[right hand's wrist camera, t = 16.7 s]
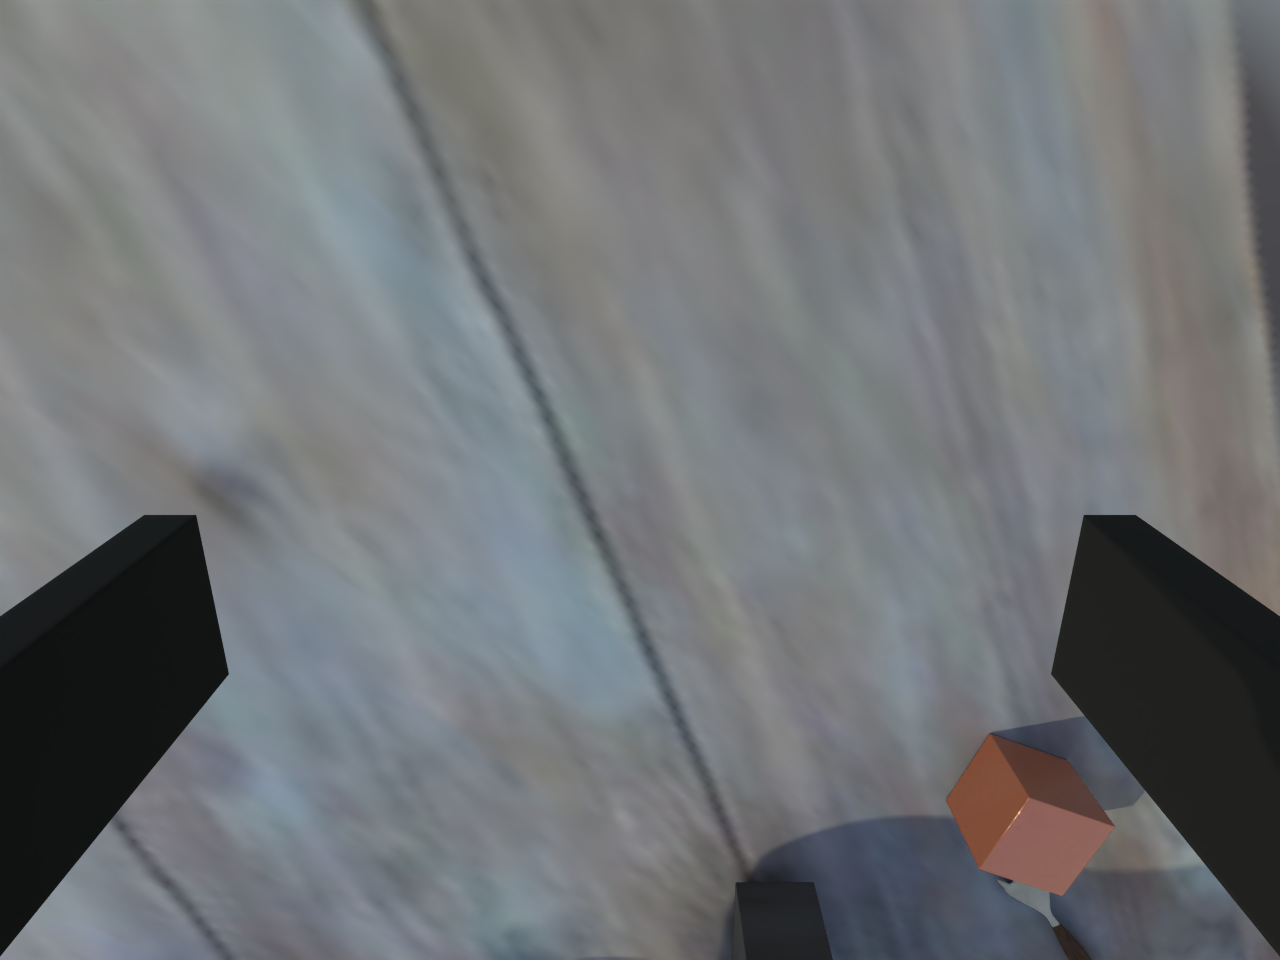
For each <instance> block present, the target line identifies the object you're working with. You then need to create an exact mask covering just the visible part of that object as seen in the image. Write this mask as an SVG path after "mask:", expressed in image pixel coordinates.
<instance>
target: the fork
mask: <svg viewBox="0 0 1280 960" xmlns="http://www.w3.org/2000/svg"><path fill="white" fill-rule="evenodd" d="M997 882H998V883H1000V884H1001V885H1002V887H1003V888H1004V890H1005V891H1006V892H1007V893H1008V894H1009V895H1010V896H1012V897H1013V898H1015V899H1016V900H1018V901H1020V902H1022V903H1024V904H1026V905H1028V906H1030V907H1032V908H1034V909H1036V910H1037V911H1039V912H1041V913H1042V914H1043V915H1044V916H1045V917H1046V918H1047V919H1048V921H1049V922H1050V924H1051V926H1052V928H1053V930H1054V932H1055V934H1056V936H1057V938H1058V940H1059V942H1060V944H1061V946H1062V948H1063V950H1064V952H1065V954H1066V955H1067V957H1068V959H1069V960H1091V958H1090V957H1089V955H1088V954H1087V952H1086V951H1085V950H1084V949H1083V947H1082V946H1081V945H1080V944H1079V943H1078V942H1077V941H1076V940H1075V939H1074V938H1073V937H1072V935H1071V934H1070V933H1069V932H1068V931H1067V930H1066V929H1065V928H1064V927H1063V926H1062V925H1061V924H1060V923H1059V922H1058V921H1057V920H1056V918H1055V917H1054V916H1053V915H1052V913H1051V910H1050V892H1048V891H1044V890H1041V889H1038V888H1035V887H1032V886H1029V885H1026V884H1023V883H1020V882H1017V881H1013V882H1012V883H1006V882H1004V881H1002V880H999V879H997Z"/></svg>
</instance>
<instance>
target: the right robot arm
mask: <svg viewBox="0 0 1280 960" xmlns="http://www.w3.org/2000/svg"><path fill="white" fill-rule="evenodd" d="M228 675H229V672H228V668H227V663H226V658H225V653H224V648H223V643H222V638H221V634H220V629H219V624H218V619H217V614H216V609H215V604H214V600H213V595H212V590H211V585H210V580H209V575H208V571H207V566H206V561H205V556H204V551H203V546H202V541H201V537H200V532H199V527H198V522H197V517H196V515H144V516H142V517H141V518H139V519H138V520H137V521H135V522H134V523H132V524H131V525H130V526H128V527H127V528H125V529H124V530H122V531H121V532H120V533H118V534H117V535H115V536H114V537H112V538H111V539H110V540H108V541H107V542H105V543H104V544H102V545H101V546H100V547H98V548H97V549H95V550H94V551H93V552H91V553H90V554H88V555H87V556H85V557H84V558H83V559H81V560H80V561H78V562H77V563H75V564H74V565H73V566H71V567H70V568H68V569H67V570H66V571H64V572H63V573H61V574H60V575H58V576H57V577H56V578H54V579H53V580H51V581H50V582H48V583H47V584H46V585H44V586H43V587H41V588H40V589H38V590H37V591H36V592H34V593H33V594H31V595H30V596H29V597H27V598H26V599H24V600H23V601H21V602H20V603H19V604H17V605H16V606H14V607H13V608H11V609H10V610H9V611H7V612H6V613H4V614H3V615H2V616H0V956H1V955H2V953H3V952H4V951H5V950H6V949H7V947H8V946H9V945H10V944H11V942H12V941H13V940H14V939H15V937H16V936H17V935H18V934H19V933H20V931H21V930H22V929H23V928H24V926H25V925H26V924H27V923H28V921H29V920H30V919H31V918H32V916H33V915H34V914H35V913H36V912H37V910H38V909H39V908H40V907H41V905H42V904H43V903H44V902H45V900H46V899H47V898H48V897H49V895H50V894H51V893H52V892H53V891H54V889H55V888H56V887H57V886H58V884H59V883H60V882H61V881H62V879H63V878H64V877H65V876H66V874H67V873H68V872H69V871H70V870H71V868H72V867H73V866H74V865H75V863H76V862H77V861H78V860H79V858H80V857H81V856H82V855H83V854H84V852H85V851H86V850H87V849H88V847H89V846H90V845H91V844H92V842H93V841H94V840H95V839H96V837H97V836H98V835H99V834H100V833H101V831H102V830H103V829H104V828H105V826H106V825H107V824H108V823H109V821H110V820H111V819H112V818H113V816H114V815H115V814H116V813H117V812H118V810H119V809H120V808H121V807H122V805H123V804H124V803H125V802H126V800H127V799H128V798H129V797H130V795H131V794H132V793H133V792H134V791H135V789H136V788H137V787H138V786H139V784H140V783H141V782H142V781H143V779H144V778H145V777H146V776H147V774H148V773H149V772H150V771H151V770H152V768H153V767H154V766H155V765H156V763H157V762H158V761H159V760H160V758H161V757H162V756H163V755H164V754H165V752H166V751H167V750H168V749H169V747H170V746H171V745H172V744H173V742H174V741H175V740H176V739H177V737H178V736H179V735H180V734H181V733H182V731H183V730H184V729H185V728H186V726H187V725H188V724H189V723H190V721H191V720H192V719H193V718H194V716H195V715H196V714H197V713H198V712H199V710H200V709H201V708H202V707H203V705H204V704H205V703H206V702H207V700H208V699H209V698H210V697H211V695H212V694H213V693H214V692H215V691H216V689H217V688H218V687H219V686H220V684H221V683H222V682H223V681H224V679H225V678H226V677H227V676H228ZM1051 675H1052V676H1053V677H1054V678H1055V679H1056V681H1057V682H1058V683H1059V684H1060V686H1061V687H1062V688H1063V689H1064V691H1065V692H1066V693H1067V694H1068V695H1069V697H1070V698H1071V699H1072V700H1073V702H1074V703H1075V704H1076V705H1077V707H1078V708H1079V709H1080V710H1081V712H1082V713H1083V714H1084V715H1085V716H1086V718H1087V719H1088V720H1089V721H1090V723H1091V724H1092V725H1093V726H1094V728H1095V729H1096V730H1097V731H1098V733H1099V734H1100V735H1101V736H1102V737H1103V739H1104V740H1105V741H1106V742H1107V744H1108V745H1109V746H1110V747H1111V749H1112V750H1113V751H1114V752H1115V754H1116V755H1117V756H1118V757H1119V758H1120V760H1121V761H1122V762H1123V763H1124V765H1125V766H1126V767H1127V768H1128V770H1129V771H1130V772H1131V773H1132V774H1133V776H1134V777H1135V778H1136V779H1137V781H1138V782H1139V783H1140V784H1141V786H1142V787H1143V788H1144V789H1145V791H1146V792H1147V793H1148V794H1149V795H1150V797H1151V798H1152V799H1153V800H1154V802H1155V803H1156V804H1157V805H1158V807H1159V808H1160V809H1161V810H1162V812H1163V813H1164V814H1165V815H1166V816H1167V818H1168V819H1169V820H1170V821H1171V823H1172V824H1173V825H1174V826H1175V828H1176V829H1177V830H1178V831H1179V833H1180V834H1181V835H1182V836H1183V837H1184V839H1185V840H1186V841H1187V842H1188V844H1189V845H1190V846H1191V847H1192V849H1193V850H1194V851H1195V852H1196V854H1197V855H1198V856H1199V857H1200V858H1201V860H1202V861H1203V862H1204V863H1205V865H1206V866H1207V867H1208V868H1209V870H1210V871H1211V872H1212V873H1213V874H1214V876H1215V877H1216V878H1217V879H1218V881H1219V882H1220V883H1221V884H1222V886H1223V887H1224V888H1225V889H1226V891H1227V892H1228V893H1229V894H1230V895H1231V897H1232V898H1233V899H1234V900H1235V902H1236V903H1237V904H1238V905H1239V907H1240V908H1241V909H1242V910H1243V912H1244V913H1245V914H1246V915H1247V916H1248V918H1249V919H1250V920H1251V921H1252V923H1253V924H1254V925H1255V926H1256V928H1257V929H1258V930H1259V931H1260V933H1261V934H1262V935H1263V936H1264V937H1265V939H1266V940H1267V941H1268V942H1269V944H1270V945H1271V946H1272V947H1273V949H1274V950H1275V951H1276V952H1277V953H1278V955H1279V956H1280V616H1278V615H1277V614H1276V613H1274V612H1273V611H1271V610H1270V609H1269V608H1267V607H1266V606H1264V605H1263V604H1261V603H1260V602H1259V601H1257V600H1256V599H1254V598H1253V597H1251V596H1250V595H1249V594H1247V593H1246V592H1244V591H1243V590H1242V589H1240V588H1239V587H1237V586H1236V585H1234V584H1233V583H1232V582H1230V581H1229V580H1227V579H1226V578H1224V577H1223V576H1222V575H1220V574H1219V573H1217V572H1216V571H1214V570H1213V569H1212V568H1210V567H1209V566H1207V565H1206V564H1205V563H1203V562H1202V561H1200V560H1199V559H1197V558H1196V557H1195V556H1193V555H1192V554H1190V553H1189V552H1187V551H1186V550H1185V549H1183V548H1182V547H1180V546H1179V545H1178V544H1176V543H1175V542H1173V541H1172V540H1170V539H1169V538H1168V537H1166V536H1165V535H1163V534H1162V533H1160V532H1159V531H1158V530H1156V529H1155V528H1153V527H1152V526H1150V525H1149V524H1148V523H1146V522H1145V521H1143V520H1142V519H1141V518H1139V517H1138V516H1136V515H1084V517H1083V522H1082V527H1081V532H1080V537H1079V541H1078V546H1077V551H1076V556H1075V561H1074V566H1073V571H1072V575H1071V580H1070V585H1069V590H1068V595H1067V600H1066V604H1065V609H1064V614H1063V619H1062V624H1061V629H1060V634H1059V638H1058V643H1057V648H1056V653H1055V658H1054V663H1053V668H1052V672H1051Z"/></svg>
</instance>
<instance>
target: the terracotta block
mask: <svg viewBox="0 0 1280 960" xmlns="http://www.w3.org/2000/svg"><path fill="white" fill-rule="evenodd" d="M946 802H947V804H948V806H949V808H950V810H951V812H952V814H953V816H954V818H955V820H956V823H957V825H958V827H959V829H960V831H961V833H962V835H963V837H964V839H965V841H966V843H967V845H968V847H969V849H970V852H971V854H972V856H973V858H974V860H975V862H976V864H977V866H978V868H979V869H980V870H983V871H986V872H989V873H992V874H995V875H998V876H1001V877H1004V878H1007V879H1010V880H1013V881H1017V882H1020V883H1023V884H1026V885H1029V886H1032V887H1035V888H1038V889H1041V890H1044V891H1048V892H1051V893H1054V894H1057V895H1060V896H1063V895H1064V894H1065V892H1066V891H1067V890H1068V888H1069V887H1070V886H1071V884H1072V883H1073V882H1074V880H1075V879H1076V878H1077V876H1078V875H1079V874H1080V873H1081V871H1082V870H1083V869H1084V867H1085V866H1086V865H1087V863H1088V862H1089V861H1090V859H1091V858H1092V857H1093V855H1094V854H1095V853H1096V852H1097V850H1098V849H1099V848H1100V846H1101V845H1102V844H1103V842H1104V841H1105V840H1106V838H1107V837H1108V836H1109V834H1110V833H1111V832H1112V830H1113V829H1114V828H1115V826H1114V824H1113V823H1112V821H1111V820H1110V819H1109V817H1108V816H1107V814H1106V813H1105V812H1104V810H1103V809H1102V808H1101V806H1100V805H1099V803H1098V802H1097V801H1096V799H1095V798H1094V796H1093V795H1092V794H1091V792H1090V791H1089V789H1088V788H1087V787H1086V785H1085V784H1084V783H1083V781H1082V780H1081V778H1080V777H1079V776H1078V774H1077V773H1076V771H1075V770H1074V769H1073V767H1072V766H1071V764H1070V763H1069V762H1068V761H1067V760H1065V759H1062V758H1059V757H1056V756H1053V755H1050V754H1048V753H1045V752H1042V751H1039V750H1036V749H1033V748H1030V747H1027V746H1025V745H1022V744H1019V743H1016V742H1013V741H1010V740H1007V739H1004V738H1002V737H999V736H996V735H993V734H989V736H988V737H987V739H986V740H985V742H984V743H983V745H982V746H981V748H980V749H979V751H978V752H977V754H976V755H975V757H974V758H973V760H972V761H971V763H970V764H969V766H968V767H967V769H966V770H965V772H964V774H963V775H962V777H961V778H960V780H959V781H958V783H957V784H956V786H955V787H954V789H953V790H952V792H951V793H950V795H949V796H948V798H947V799H946Z"/></svg>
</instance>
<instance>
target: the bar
mask: <svg viewBox="0 0 1280 960" xmlns="http://www.w3.org/2000/svg"><path fill="white" fill-rule="evenodd" d="M732 960H833V959H832V955H831V951H830V947H829V943H828V939H827V934H826V930H825V926H824V922H823V918H822V914H821V910H820V906H819V902H818V898H817V894H816V889H815V885H814V883H813V882H743V883H736V887H735V906H734V924H733V943H732Z"/></svg>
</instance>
